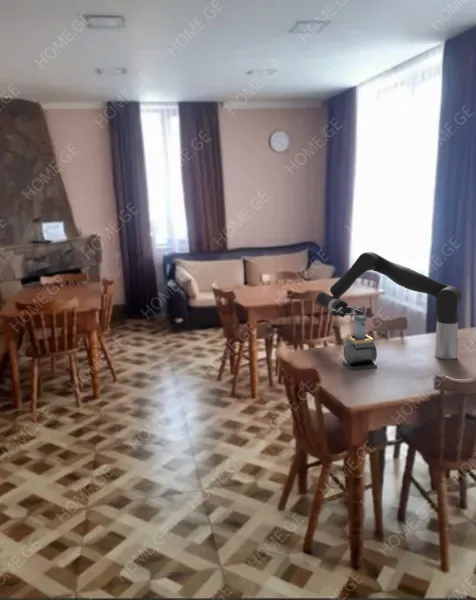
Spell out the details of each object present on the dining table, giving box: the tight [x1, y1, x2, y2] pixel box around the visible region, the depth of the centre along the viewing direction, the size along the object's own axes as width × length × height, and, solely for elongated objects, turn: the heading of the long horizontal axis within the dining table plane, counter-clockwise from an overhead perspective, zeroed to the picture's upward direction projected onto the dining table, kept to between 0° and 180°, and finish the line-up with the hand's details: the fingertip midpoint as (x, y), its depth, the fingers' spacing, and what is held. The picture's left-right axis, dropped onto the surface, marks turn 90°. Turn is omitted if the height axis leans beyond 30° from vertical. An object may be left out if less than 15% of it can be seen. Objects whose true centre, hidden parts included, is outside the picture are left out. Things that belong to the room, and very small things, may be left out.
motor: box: [342, 334, 378, 371], centre depth 229 cm, size 12×10×14 cm
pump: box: [353, 314, 368, 340], centre depth 226 cm, size 7×6×11 cm
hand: (352, 314), depth 238 cm, fingers open, 8 cm apart
